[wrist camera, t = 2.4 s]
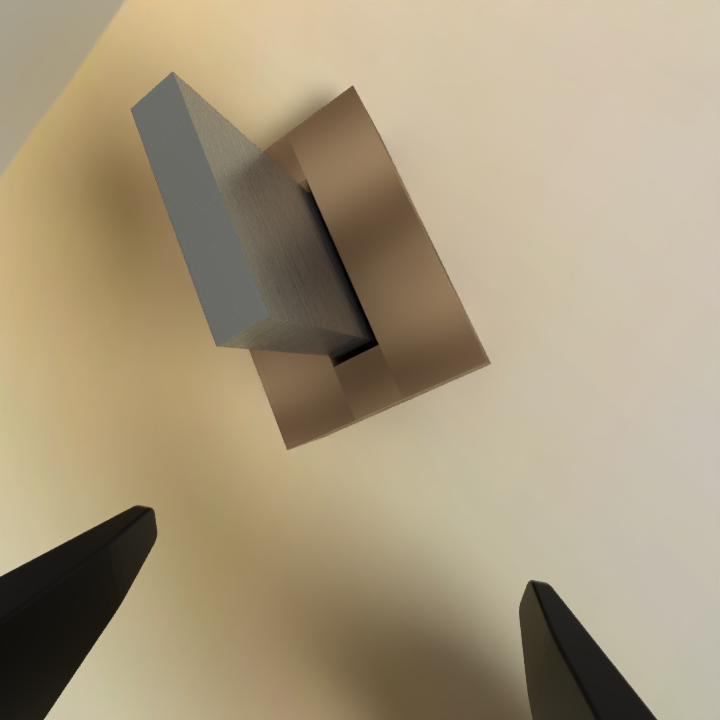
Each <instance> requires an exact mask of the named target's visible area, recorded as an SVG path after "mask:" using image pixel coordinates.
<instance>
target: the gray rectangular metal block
mask: <svg viewBox="0 0 720 720" xmlns="http://www.w3.org/2000/svg"><path fill="white" fill-rule="evenodd" d="M131 112H132V114H133V117H134V120H135V123H136V126H137V128H138V131H139V134H140V137H141V139H142V142H143V145H144V148H145V150H146V153H147V156H148V159H149V161H150V164H151V167H152V170H153V173H154V175H155V178H156V181H157V184H158V186H159V189H160V192H161V195H162V197H163V200H164V203H165V206H166V208H167V211H168V214H169V217H170V220H171V222H172V225H173V228H174V231H175V233H176V236H177V239H178V242H179V244H180V247H181V250H182V253H183V255H184V258H185V261H186V264H187V267H188V269H189V272H190V275H191V278H192V280H193V283H194V286H195V289H196V291H197V294H198V297H199V300H200V302H201V305H202V308H203V311H204V314H205V316H206V319H207V322H208V325H209V327H210V330H211V333H212V336H213V338H214V341H215V344H216V346H220V347H231V348H243V349H254V350H266V351H277V352H289V353H300V354H312V355H323V356H335V357H346V358H353V357H355V356H357V355H359V354H361V353H363V352H365V351H367V350H369V349H371V348H373V347H375V346H377V345H379V344H378V341H377V339H376V337H375V334H374V332H373V330H372V328H371V325H370V323H369V321H368V318H367V316H366V314H365V312H364V309H363V307H362V305H361V302H360V300H359V298H358V296H357V293H356V291H355V289H354V287H353V284H352V282H351V280H350V277H349V275H348V273H347V271H346V268H345V266H344V264H343V261H342V259H341V257H340V255H339V252H338V250H337V248H336V245H335V243H334V241H333V239H332V236H331V234H330V232H329V229H328V227H327V225H326V223H325V220H324V218H323V216H322V213H321V211H320V209H319V207H318V204H317V202H316V200H315V198H314V197H312V196H311V195H310V194H309V193H308V192H307V191H306V190H305V189H304V188H302V187H301V186H300V185H299V184H298V183H297V182H296V181H295V180H293V179H292V178H291V177H290V176H289V175H288V174H287V173H286V172H285V171H283V170H282V169H281V168H280V167H279V166H278V165H277V164H276V163H275V162H273V161H272V160H271V159H270V158H269V157H268V156H267V155H266V154H264V153H263V152H262V151H261V150H260V149H259V148H258V147H257V146H256V145H254V144H253V143H252V142H251V141H250V140H249V139H248V138H247V137H245V136H244V135H243V134H242V133H241V132H240V131H239V130H238V129H237V128H235V127H234V126H233V125H232V124H231V123H230V122H229V121H228V120H227V119H225V118H224V117H223V116H222V115H221V114H220V113H219V112H218V111H216V110H215V109H214V108H213V107H212V106H211V105H210V104H209V103H208V102H206V101H205V100H204V99H203V98H202V97H201V96H200V95H199V94H197V93H196V92H195V91H194V90H193V89H192V88H191V87H190V86H189V85H187V84H186V83H185V82H184V81H183V80H182V79H181V78H180V77H178V76H177V75H176V74H175V73H174V72H172V73H170V74H169V75H168V76H167V77H166V78H165V79H164V80H163V81H162V82H160V83H159V84H158V85H157V86H156V87H155V88H154V89H153V90H152V91H150V92H149V93H148V94H147V95H146V96H145V97H144V98H143V99H141V100H140V101H139V102H138V103H137V104H136V105H135V106H134V107H133V108H131Z"/></svg>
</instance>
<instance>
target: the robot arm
mask: <svg viewBox="0 0 720 720" xmlns="http://www.w3.org/2000/svg"><path fill="white" fill-rule="evenodd" d="M156 538H157V526H156V519H155V512H154V510H153V509H152V508H151V507H145V506H140V505H137V506H134V507H132V508H130V509H128V510H126V511H124V512H122V513H120V514H118V515H116V516H114V517H113V518H111V519H109V520H107V521H105V522H103V523H101V524H99V525H97V526H95V527H94V528H92V529H90V530H88V531H86V532H84V533H82V534H80V535H78V536H77V537H75V538H73V539H71V540H69V541H67V542H65V543H63V544H61V545H59V546H58V547H56V548H54V549H52V550H50V551H48V552H46V553H44V554H42V555H40V556H39V557H37V558H35V559H33V560H31V561H29V562H27V563H25V564H23V565H22V566H20V567H18V568H16V569H14V570H12V571H10V572H8V573H6V574H4V575H3V576H1V577H0V720H44V719H45V717H46V716H47V714H48V713H49V711H50V710H51V708H52V707H53V705H54V704H55V702H56V701H57V699H58V698H59V696H60V695H61V693H62V692H63V690H64V689H65V687H66V686H67V684H68V683H69V681H70V680H71V678H72V677H73V675H74V674H75V672H76V671H77V669H78V668H79V666H80V665H81V663H82V662H83V660H84V659H85V658H86V656H87V655H88V653H89V652H90V650H91V649H92V647H93V646H94V644H95V643H96V641H97V640H98V638H99V637H100V635H101V634H102V632H103V631H104V629H105V628H106V626H107V625H108V623H109V622H110V620H111V619H112V617H113V616H114V614H115V613H116V611H117V610H118V608H119V606H120V605H121V603H122V601H123V600H124V598H125V596H126V595H127V593H128V591H129V589H130V587H131V585H132V584H133V582H134V580H135V578H136V576H137V574H138V573H139V571H140V569H141V567H142V565H143V563H144V562H145V560H146V558H147V556H148V554H149V552H150V551H151V549H152V547H153V545H154V543H155V541H156ZM519 618H520V627H521V637H522V646H523V655H524V664H525V673H526V682H527V690H528V697H529V702H530V707H531V712H532V717H533V720H657V719H656V717H655V716H654V715H653V714H652V712H651V711H650V710H649V709H648V707H647V706H646V705H645V704H644V702H643V701H642V700H641V699H640V697H639V696H638V695H637V693H636V692H635V691H634V690H633V688H632V687H631V686H630V685H629V683H628V682H627V681H626V680H625V678H624V677H623V676H622V675H621V673H620V672H619V671H618V670H617V668H616V667H615V666H614V665H613V663H612V662H611V661H610V659H609V658H608V657H607V656H606V654H605V653H604V652H603V651H602V649H601V648H600V647H599V646H598V644H597V643H596V642H595V641H594V639H593V638H592V637H591V636H590V634H589V633H588V632H587V631H586V629H585V628H584V627H583V625H582V624H581V623H580V622H579V620H578V619H577V618H576V617H575V615H574V614H573V613H572V612H571V610H570V609H569V608H568V607H567V605H566V604H565V603H564V602H563V600H562V599H561V598H560V597H559V595H558V594H557V593H556V592H555V590H554V589H553V588H552V587H551V586H550V585H549V584H548V583H545V582H540V581H534V580H530V581H529V582H528V584H527V586H526V589H525V592H524V594H523V597H522V600H521V603H520V607H519Z"/></svg>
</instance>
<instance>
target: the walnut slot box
mask: <svg viewBox="0 0 720 720" xmlns="http://www.w3.org/2000/svg"><path fill="white" fill-rule="evenodd" d="M263 153H264V154H266V155H267V156H268V157H269V158H270V159H271V160H272V161H273V162H275V163H276V164H277V165H278V166H279V167H280V168H281V169H282V170H283V171H285V172H286V173H287V174H288V175H289V176H290V177H291V178H292V179H293V180H295V181H296V182H297V183H298V184H299V185H300V186H301V187H302V188H304V189H305V190H306V191H307V192H308V193H309V194H310V195H311V196H312V197H314V198H315V200H316V202H317V204H318V207H319V209H320V211H321V213H322V216H323V218H324V220H325V223H326V225H327V227H328V229H329V232H330V234H331V236H332V239H333V241H334V243H335V245H336V248H337V250H338V252H339V255H340V257H341V259H342V261H343V264H344V266H345V268H346V271H347V273H348V275H349V277H350V280H351V282H352V284H353V287H354V289H355V291H356V293H357V296H358V298H359V300H360V302H361V305H362V307H363V309H364V312H365V314H366V316H367V318H368V321H369V323H370V325H371V328H372V330H373V332H374V334H375V337H376V339H377V341H378V344H379V345H377V346H375V347H373V348H371V349H369V350H367V351H365V352H363V353H361V354H359V355H357V356H355V357H353V358H346V357H335V356H323V355H312V354H300V353H289V352H277V351H266V350H254V349H249V350H250V352H251V355H252V358H253V360H254V363H255V366H256V368H257V371H258V374H259V376H260V379H261V382H262V384H263V387H264V390H265V392H266V395H267V397H268V400H269V403H270V405H271V408H272V411H273V413H274V416H275V419H276V421H277V424H278V427H279V429H280V432H281V435H282V437H283V440H284V443H285V445H286V448H287V450H289V449H292V448H295V447H297V446H300V445H303V444H306V443H309V442H311V441H314V440H317V439H320V438H323V437H325V436H327V435H330V434H332V433H334V432H336V431H339V430H341V429H343V428H346V427H348V426H350V425H352V424H355V423H357V422H359V421H362V420H364V419H366V418H368V417H371V416H373V415H375V414H378V413H380V412H382V411H384V410H387V409H389V408H391V407H394V406H396V405H398V404H400V403H403V402H405V401H407V400H410V399H412V398H414V397H416V396H419V395H421V394H423V393H426V392H428V391H430V390H432V389H435V388H437V387H439V386H441V385H444V384H446V383H448V382H451V381H453V380H455V379H457V378H460V377H462V376H464V375H467V374H469V373H471V372H473V371H476V370H478V369H480V368H483V367H485V366H487V365H489V364H491V363H490V361H489V359H488V357H487V355H486V352H485V350H484V348H483V346H482V344H481V342H480V340H479V338H478V336H477V334H476V332H475V330H474V328H473V326H472V324H471V322H470V320H469V318H468V315H467V313H466V311H465V309H464V307H463V305H462V303H461V301H460V299H459V297H458V295H457V293H456V291H455V289H454V287H453V285H452V283H451V280H450V278H449V276H448V274H447V272H446V270H445V268H444V266H443V264H442V262H441V260H440V258H439V256H438V254H437V252H436V250H435V248H434V246H433V243H432V241H431V239H430V237H429V235H428V233H427V231H426V229H425V227H424V225H423V223H422V221H421V219H420V217H419V215H418V213H417V211H416V209H415V206H414V204H413V202H412V200H411V198H410V196H409V194H408V192H407V190H406V188H405V186H404V184H403V182H402V180H401V178H400V176H399V174H398V171H397V169H396V167H395V165H394V163H393V161H392V159H391V157H390V155H389V153H388V151H387V149H386V147H385V145H384V143H383V141H382V139H381V137H380V134H379V133H378V131H377V129H376V127H375V125H374V123H373V121H372V120H371V118H370V116H369V114H368V112H367V110H366V109H365V107H364V105H363V103H362V101H361V99H360V97H359V96H358V94H357V92H356V90H355V88H354V86H351V87H350V88H349V89H347V90H346V91H345V92H343V93H342V94H341V95H339V96H338V97H337V98H335V99H334V100H333V101H331V102H330V103H329V104H327V105H326V106H324V107H323V108H322V109H320V110H319V111H318V112H316V113H315V114H314V115H312V116H311V117H310V118H308V119H307V120H306V121H304V122H303V123H302V124H300V125H299V126H297V127H296V128H295V129H293V130H292V131H291V132H289V133H288V134H287V135H285V136H284V137H283V138H281V139H280V140H279V141H277V142H276V143H274V144H273V145H272V146H270V147H269V148H268V149H266V150H265V151H264V152H263Z"/></svg>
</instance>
